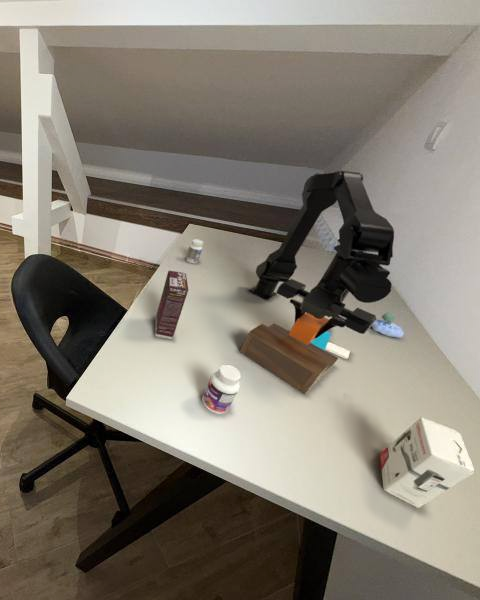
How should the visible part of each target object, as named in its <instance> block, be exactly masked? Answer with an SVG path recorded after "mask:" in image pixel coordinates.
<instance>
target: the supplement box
mask: <svg viewBox="0 0 480 600" xmlns="http://www.w3.org/2000/svg"><path fill="white" fill-rule="evenodd" d="M188 293H189V284H188V278H187V273H185V272H182V271H181V272H180V271H174V270H168V271H167V275H166V277H165V281H164V285H163V289H162V293H161V295H160V296H161V297H160V300H159V304H158V308H157V312H156V315H155V321H154V323H155V329H154V336H155V337H158V338H163V339H167V340H173V338H174V336H175V333H176V330H177V327H178V323H179V320H180V317H181V314H182V311H183V308H184V305H185V302H186V299H187V296H188Z"/></svg>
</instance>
